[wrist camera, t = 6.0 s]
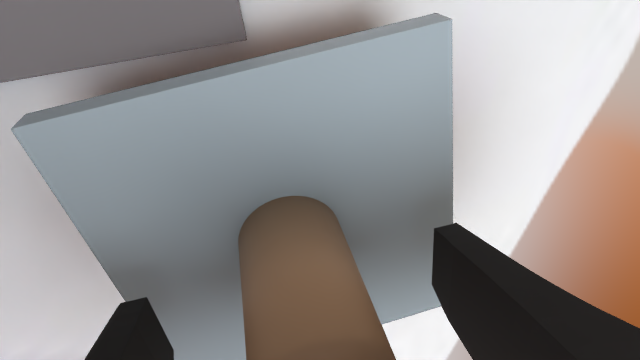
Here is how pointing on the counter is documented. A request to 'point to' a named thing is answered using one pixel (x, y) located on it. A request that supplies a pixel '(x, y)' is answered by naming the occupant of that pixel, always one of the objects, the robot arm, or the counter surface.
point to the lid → (268, 192)
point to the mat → (107, 32)
